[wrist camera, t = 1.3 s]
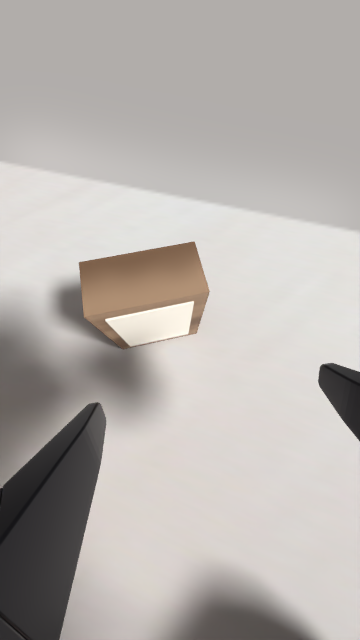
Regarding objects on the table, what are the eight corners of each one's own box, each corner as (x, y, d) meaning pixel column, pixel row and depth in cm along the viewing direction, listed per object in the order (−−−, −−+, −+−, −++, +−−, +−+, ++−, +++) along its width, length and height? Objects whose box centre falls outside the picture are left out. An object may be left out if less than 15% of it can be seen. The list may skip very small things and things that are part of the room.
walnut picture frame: (196, 334, 23) (210, 293, 14) (123, 350, 23) (83, 319, 13) (187, 300, 25) (194, 241, 15) (117, 314, 24) (79, 262, 14)
